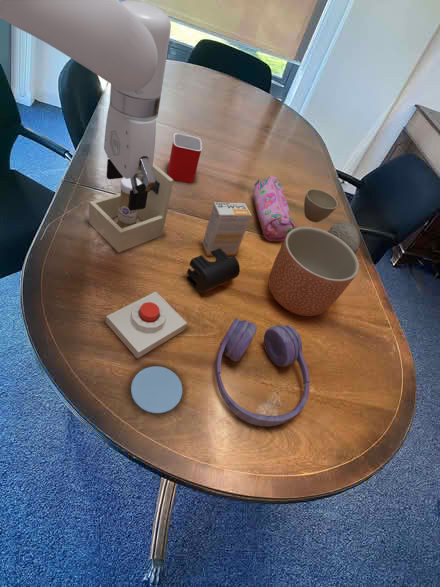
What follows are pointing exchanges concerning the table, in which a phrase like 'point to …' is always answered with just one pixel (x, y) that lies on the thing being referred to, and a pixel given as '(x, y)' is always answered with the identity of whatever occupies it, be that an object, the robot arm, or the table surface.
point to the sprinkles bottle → (126, 205)
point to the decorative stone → (346, 234)
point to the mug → (184, 157)
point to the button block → (145, 325)
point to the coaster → (156, 390)
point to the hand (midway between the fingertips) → (125, 192)
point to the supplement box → (226, 227)
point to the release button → (149, 312)
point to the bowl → (318, 205)
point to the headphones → (281, 350)
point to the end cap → (212, 271)
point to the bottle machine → (149, 215)
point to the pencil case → (272, 209)
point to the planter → (311, 271)
